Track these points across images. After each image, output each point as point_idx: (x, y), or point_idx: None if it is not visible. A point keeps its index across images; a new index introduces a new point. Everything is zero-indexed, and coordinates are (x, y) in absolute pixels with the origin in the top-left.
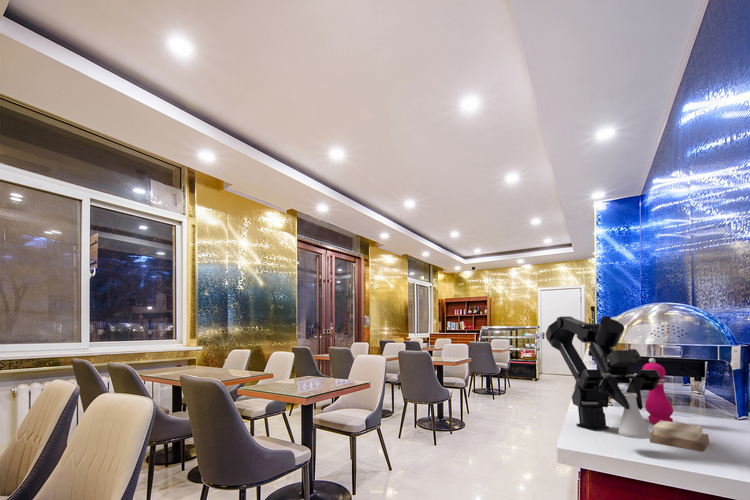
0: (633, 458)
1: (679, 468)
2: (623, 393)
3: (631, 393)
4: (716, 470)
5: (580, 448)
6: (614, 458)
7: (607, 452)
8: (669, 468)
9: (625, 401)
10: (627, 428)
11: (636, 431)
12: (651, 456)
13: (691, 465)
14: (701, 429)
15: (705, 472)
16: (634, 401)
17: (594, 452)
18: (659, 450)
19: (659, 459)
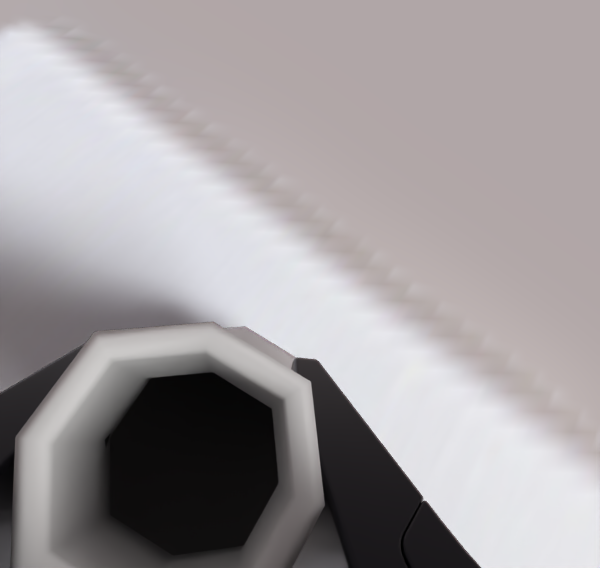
0: (328, 323)
1: (188, 166)
2: (298, 515)
3: (56, 564)
4: (14, 127)
5: (561, 531)
6: (439, 328)
7: (423, 440)
8: (241, 170)
9: (324, 397)
10: None
11: (262, 347)
12: None
13: (80, 199)
14: None
15: (101, 111)
16: (177, 371)
17: (505, 442)
18: None
19: (184, 299)
